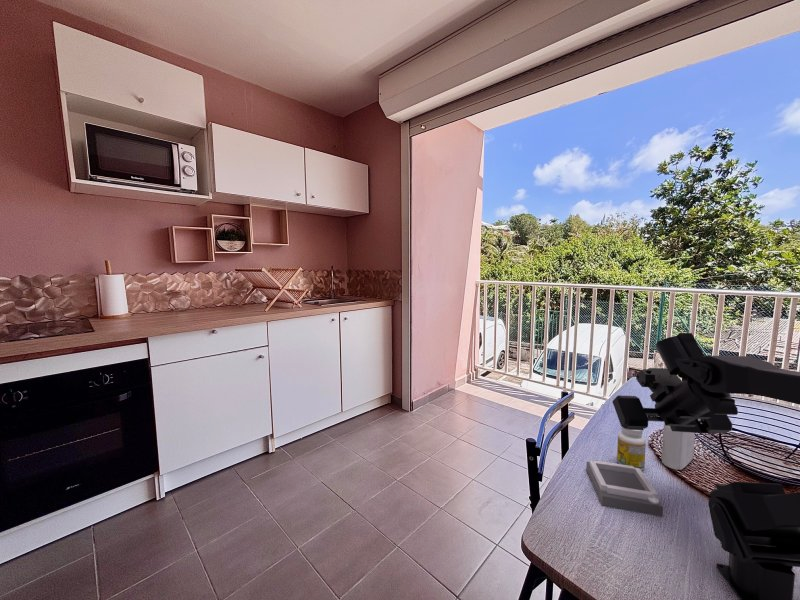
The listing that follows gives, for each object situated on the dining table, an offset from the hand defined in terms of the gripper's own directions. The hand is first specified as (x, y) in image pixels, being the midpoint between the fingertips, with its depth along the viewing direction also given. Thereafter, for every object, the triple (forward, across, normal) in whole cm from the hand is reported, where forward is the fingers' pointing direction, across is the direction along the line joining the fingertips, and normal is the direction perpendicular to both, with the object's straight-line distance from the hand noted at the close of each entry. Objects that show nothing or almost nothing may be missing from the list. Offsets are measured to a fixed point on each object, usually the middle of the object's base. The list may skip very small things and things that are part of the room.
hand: (648, 427), depth 69 cm
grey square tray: (+6, +7, +12) cm, 15 cm away
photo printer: (+15, -12, +3) cm, 19 cm away
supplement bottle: (+13, 0, +5) cm, 14 cm away
